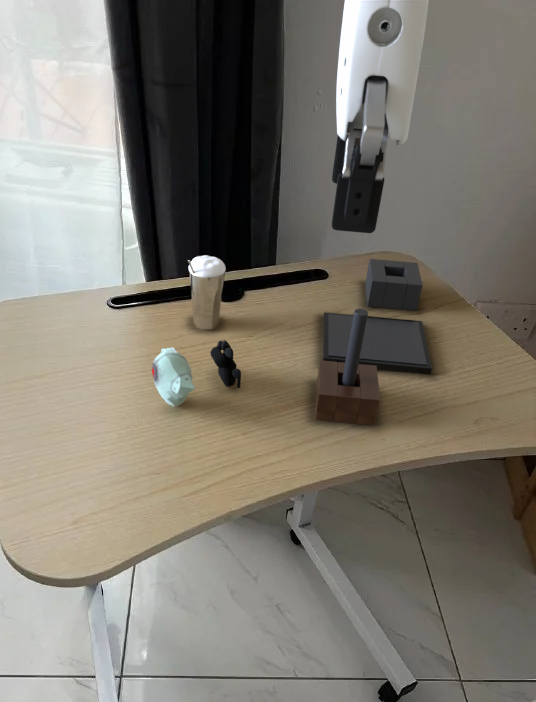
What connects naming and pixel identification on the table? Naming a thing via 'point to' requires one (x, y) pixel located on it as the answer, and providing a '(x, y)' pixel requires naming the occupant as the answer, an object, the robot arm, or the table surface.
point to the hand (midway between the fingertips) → (351, 205)
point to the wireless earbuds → (226, 364)
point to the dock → (393, 284)
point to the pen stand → (347, 394)
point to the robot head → (172, 376)
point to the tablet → (379, 343)
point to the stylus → (354, 347)
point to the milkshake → (206, 290)
